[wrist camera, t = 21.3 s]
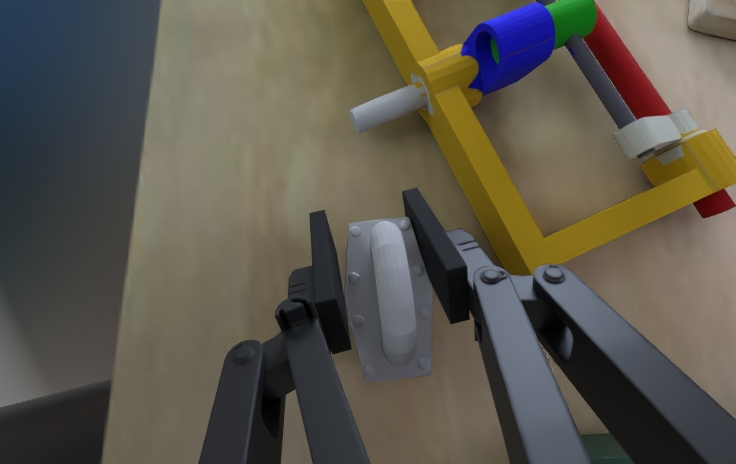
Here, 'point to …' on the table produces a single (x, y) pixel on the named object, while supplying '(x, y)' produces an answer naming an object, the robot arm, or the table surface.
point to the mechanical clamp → (508, 65)
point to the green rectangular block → (605, 449)
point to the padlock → (388, 300)
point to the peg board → (713, 17)
